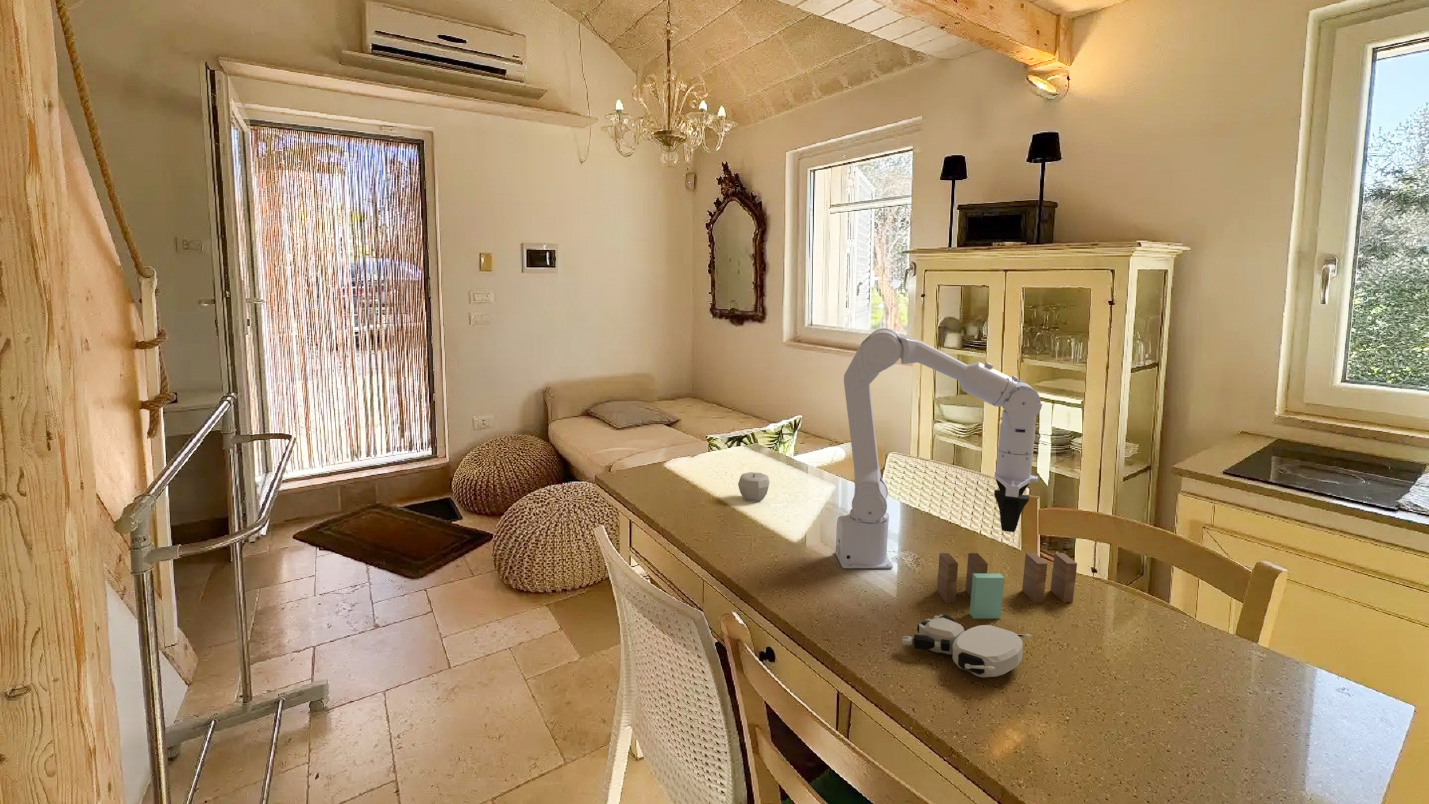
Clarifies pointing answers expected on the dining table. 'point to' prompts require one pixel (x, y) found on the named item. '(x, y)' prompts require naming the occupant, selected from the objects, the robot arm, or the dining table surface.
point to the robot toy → (970, 645)
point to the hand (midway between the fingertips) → (1008, 523)
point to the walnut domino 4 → (1063, 577)
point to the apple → (753, 486)
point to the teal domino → (986, 595)
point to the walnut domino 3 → (1034, 577)
